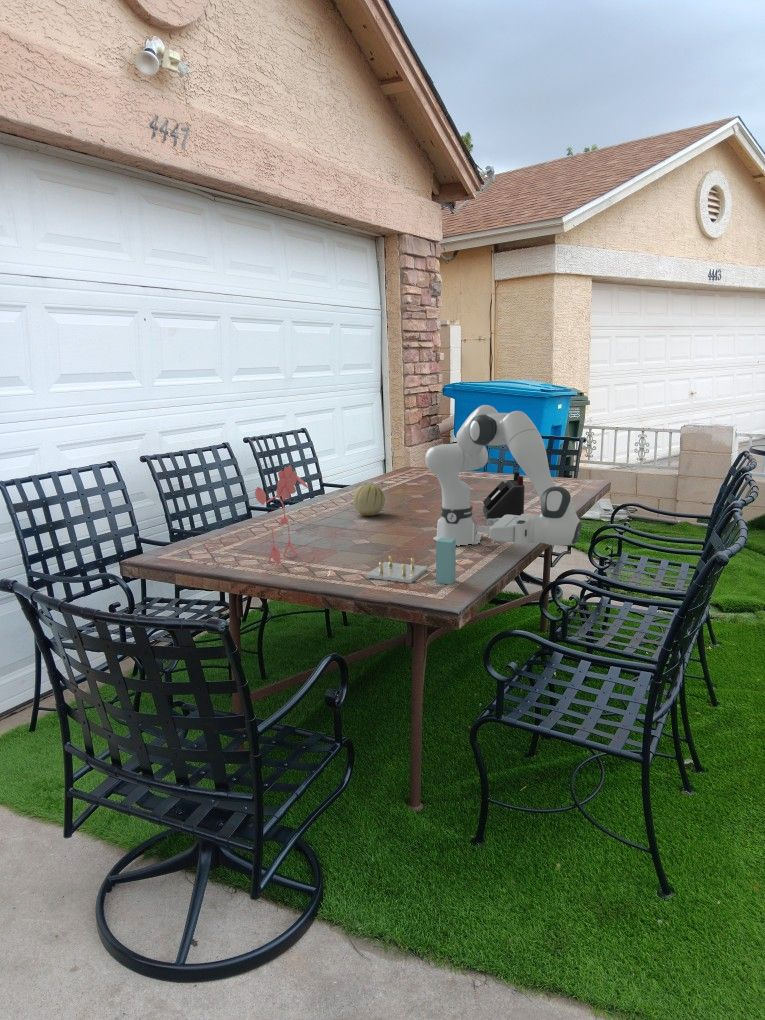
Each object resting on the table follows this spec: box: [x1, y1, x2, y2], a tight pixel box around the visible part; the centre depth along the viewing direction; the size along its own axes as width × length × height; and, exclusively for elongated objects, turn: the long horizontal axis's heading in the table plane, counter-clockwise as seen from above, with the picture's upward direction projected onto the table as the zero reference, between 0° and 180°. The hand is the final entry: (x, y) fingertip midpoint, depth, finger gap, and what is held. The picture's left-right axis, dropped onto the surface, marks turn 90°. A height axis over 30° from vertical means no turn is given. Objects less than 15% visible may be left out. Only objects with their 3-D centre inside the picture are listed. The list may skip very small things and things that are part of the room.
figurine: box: [254, 464, 314, 567], centre depth 261 cm, size 15×26×35 cm, turn 151°
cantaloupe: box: [352, 482, 386, 517], centre depth 335 cm, size 15×15×15 cm
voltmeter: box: [482, 471, 525, 520], centre depth 324 cm, size 16×16×20 cm
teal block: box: [435, 538, 457, 585], centre depth 238 cm, size 5×5×14 cm
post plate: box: [365, 555, 428, 584], centre depth 248 cm, size 16×16×5 cm
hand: (482, 525), depth 230 cm, fingers open, 8 cm apart
